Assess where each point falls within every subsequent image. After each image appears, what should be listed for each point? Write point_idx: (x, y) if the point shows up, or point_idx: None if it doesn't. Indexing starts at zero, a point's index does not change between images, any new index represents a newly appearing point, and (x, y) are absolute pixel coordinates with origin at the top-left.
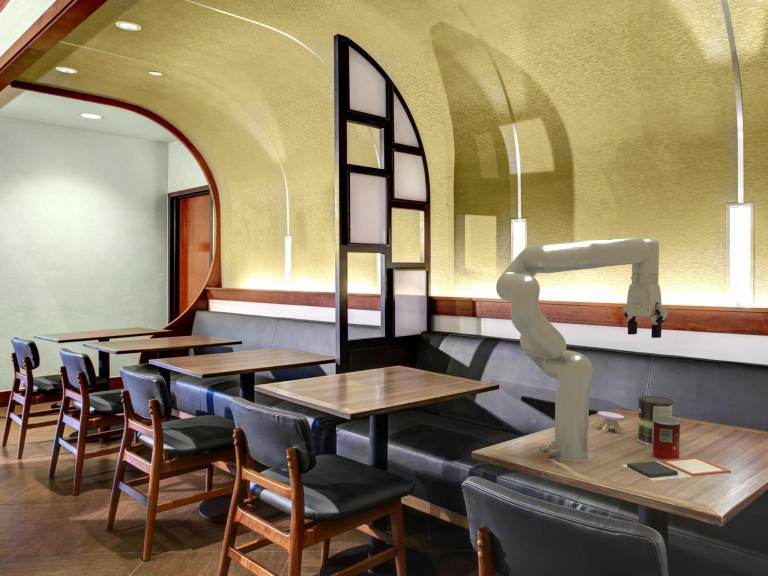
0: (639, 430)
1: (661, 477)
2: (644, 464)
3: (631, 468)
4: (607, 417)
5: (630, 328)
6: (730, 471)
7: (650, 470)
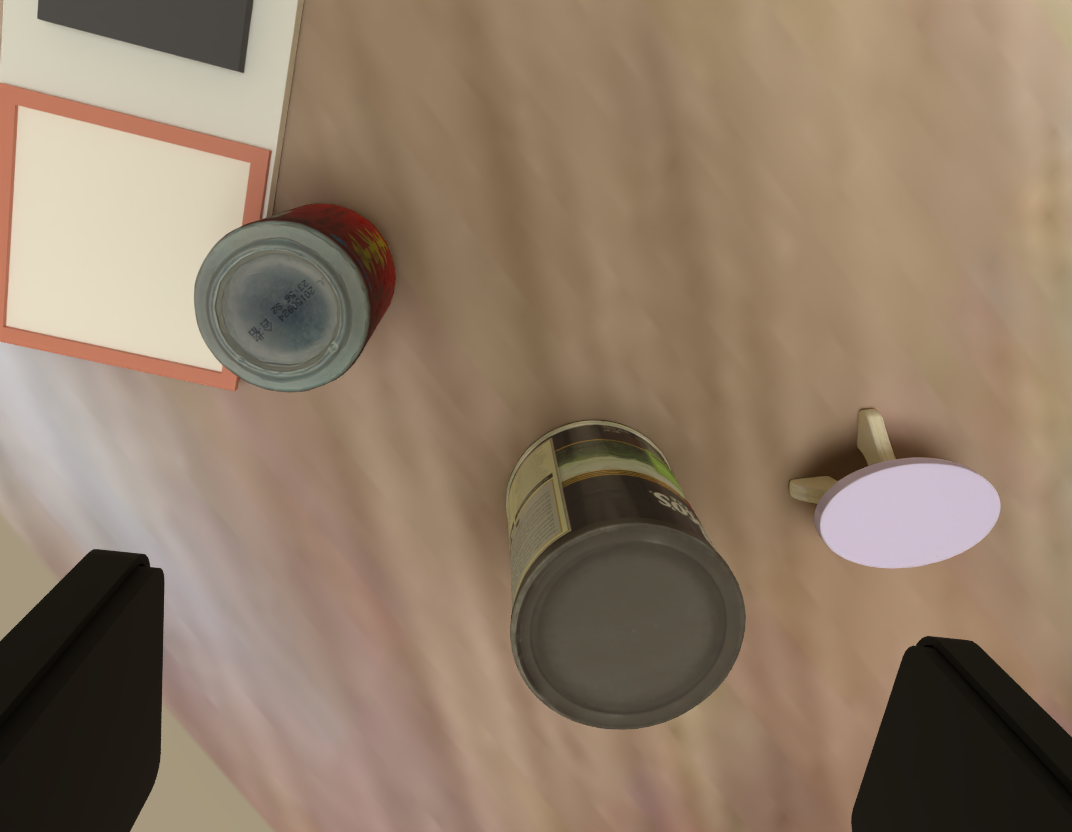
0: (643, 452)
1: None
2: None
3: None
4: (893, 463)
5: (985, 756)
6: None
7: None
